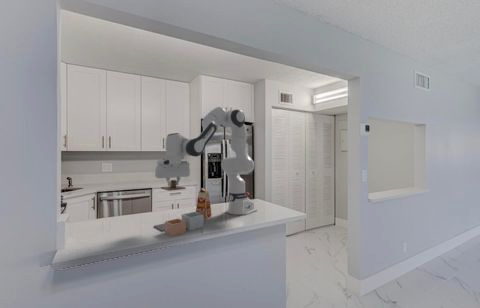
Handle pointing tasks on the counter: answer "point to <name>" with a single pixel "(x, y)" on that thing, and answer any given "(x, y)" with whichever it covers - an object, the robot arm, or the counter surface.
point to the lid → (173, 186)
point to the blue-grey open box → (193, 220)
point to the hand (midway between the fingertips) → (173, 185)
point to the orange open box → (175, 227)
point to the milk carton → (204, 204)
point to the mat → (160, 227)
